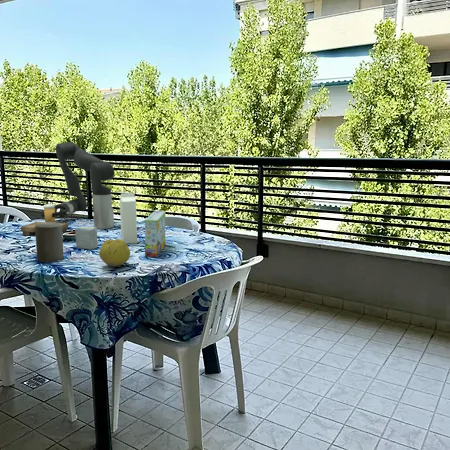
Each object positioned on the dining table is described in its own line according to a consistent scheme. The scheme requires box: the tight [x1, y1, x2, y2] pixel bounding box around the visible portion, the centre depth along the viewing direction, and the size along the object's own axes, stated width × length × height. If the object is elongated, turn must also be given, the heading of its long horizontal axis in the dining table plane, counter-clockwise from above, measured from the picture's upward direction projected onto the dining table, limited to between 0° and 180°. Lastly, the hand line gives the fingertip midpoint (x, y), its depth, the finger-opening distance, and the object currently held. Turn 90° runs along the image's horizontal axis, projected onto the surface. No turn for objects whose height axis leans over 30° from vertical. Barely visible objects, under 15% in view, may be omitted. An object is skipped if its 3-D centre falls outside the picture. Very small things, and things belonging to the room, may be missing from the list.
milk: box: [119, 192, 138, 245], centre depth 201 cm, size 6×6×22 cm
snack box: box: [144, 210, 166, 258], centre depth 188 cm, size 21×6×15 cm, turn 179°
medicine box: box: [74, 226, 99, 250], centre depth 192 cm, size 8×4×9 cm, turn 71°
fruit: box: [98, 238, 131, 267], centre depth 166 cm, size 11×12×10 cm
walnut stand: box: [20, 221, 69, 236], centre depth 219 cm, size 17×13×4 cm
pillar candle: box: [34, 221, 64, 263], centre depth 174 cm, size 10×10×15 cm
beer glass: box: [43, 203, 56, 223], centre depth 233 cm, size 5×5×12 cm
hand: (47, 215), depth 230 cm, fingers closed on beer glass, 5 cm apart
